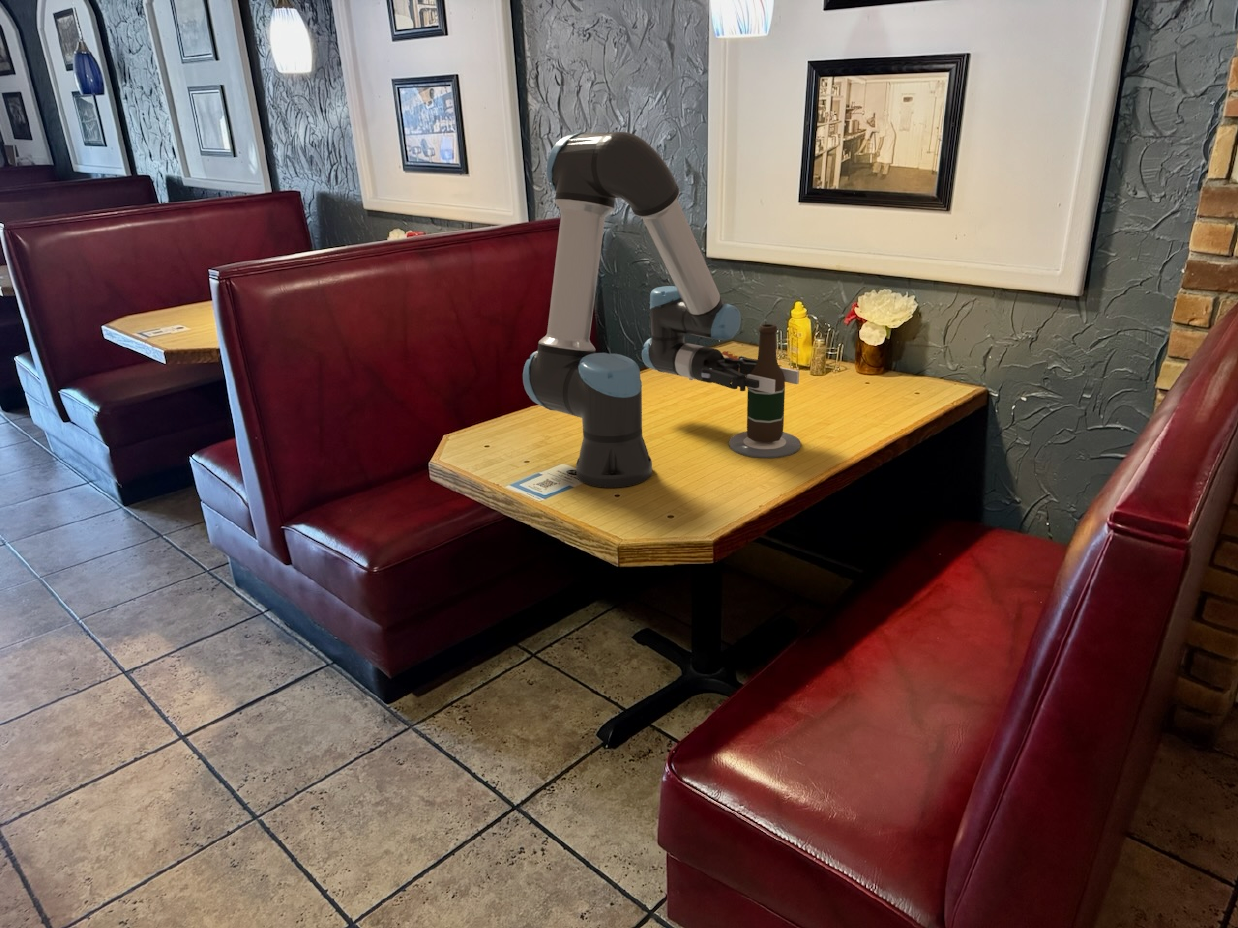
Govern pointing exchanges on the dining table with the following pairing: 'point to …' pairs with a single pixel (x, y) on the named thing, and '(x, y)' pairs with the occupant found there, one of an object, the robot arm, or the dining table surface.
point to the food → (730, 356)
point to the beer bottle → (761, 405)
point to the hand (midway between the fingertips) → (786, 382)
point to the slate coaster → (764, 446)
